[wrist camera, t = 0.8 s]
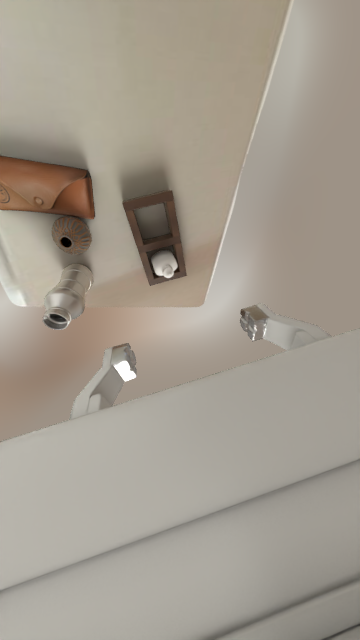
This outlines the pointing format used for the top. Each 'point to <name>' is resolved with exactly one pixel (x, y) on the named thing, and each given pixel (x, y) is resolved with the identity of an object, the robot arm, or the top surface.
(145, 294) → the top surface
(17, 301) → the top surface
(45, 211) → the sunglasses case
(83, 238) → the vase
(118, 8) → the top surface
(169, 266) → the eye dropper bottle
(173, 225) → the stand
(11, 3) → the top surface
